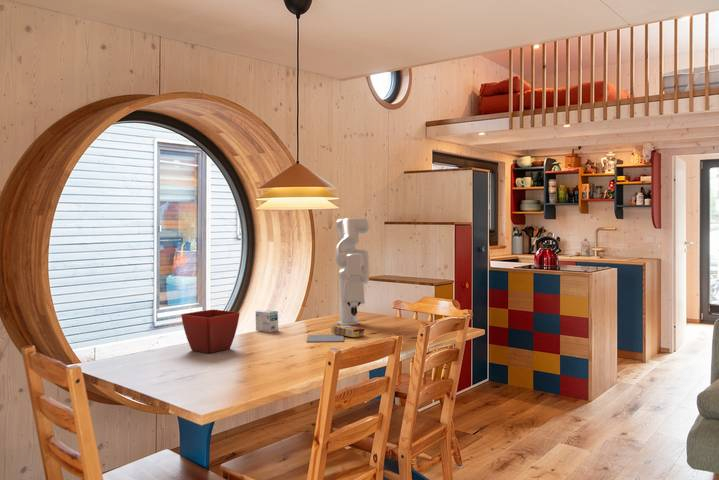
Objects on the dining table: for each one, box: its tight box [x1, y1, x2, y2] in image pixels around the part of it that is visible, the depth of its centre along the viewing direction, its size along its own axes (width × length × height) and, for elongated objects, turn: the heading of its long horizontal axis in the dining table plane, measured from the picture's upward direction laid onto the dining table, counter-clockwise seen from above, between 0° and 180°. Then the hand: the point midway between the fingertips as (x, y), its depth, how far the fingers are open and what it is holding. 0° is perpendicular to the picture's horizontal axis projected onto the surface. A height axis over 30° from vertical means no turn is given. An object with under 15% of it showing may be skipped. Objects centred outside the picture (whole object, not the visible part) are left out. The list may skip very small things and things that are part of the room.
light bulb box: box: [255, 309, 279, 333], centre depth 316 cm, size 11×7×11 cm, turn 58°
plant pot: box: [180, 309, 240, 354], centre depth 270 cm, size 19×19×17 cm
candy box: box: [330, 324, 366, 338], centre depth 301 cm, size 9×4×15 cm
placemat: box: [306, 334, 345, 343], centre depth 293 cm, size 16×18×1 cm
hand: (354, 315), depth 293 cm, fingers closed
